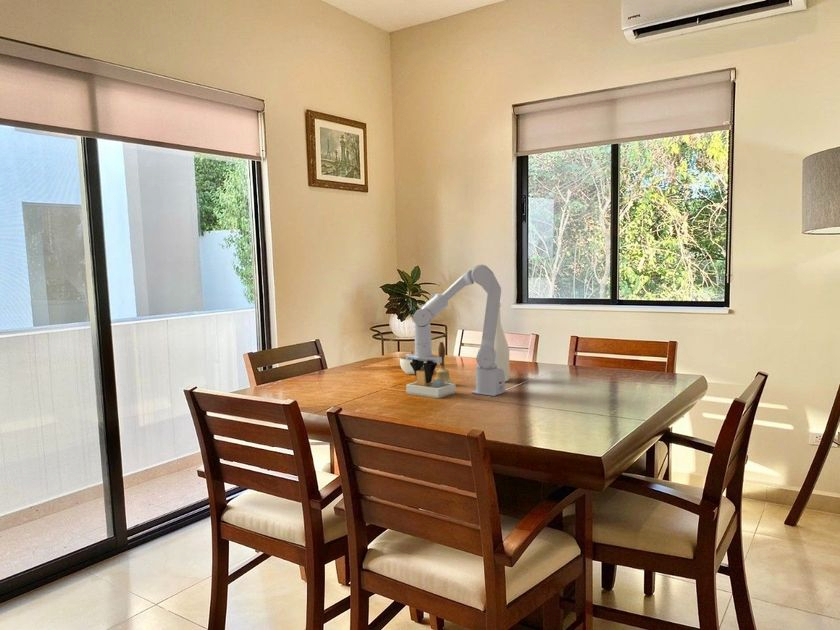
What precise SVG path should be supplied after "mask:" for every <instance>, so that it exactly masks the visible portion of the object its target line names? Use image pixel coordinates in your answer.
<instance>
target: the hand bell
mask: <svg viewBox="0 0 840 630" xmlns="http://www.w3.org/2000/svg"><path fill="white" fill-rule="evenodd" d="M437 353H438V357H442V363H439V368H438V369H437V370H436V371H435V373H436V374H435V378H434V380H436V379H442V380H444V382H445V383H453V384H455V383H454V381H452V379H451V377H450V373H449V370H448V369H447V368H445V355H446V347H445V344H444V342H443V341H439V345H438V347H437Z"/></svg>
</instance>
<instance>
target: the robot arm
mask: <svg viewBox="0 0 840 630" xmlns="http://www.w3.org/2000/svg"><path fill="white" fill-rule="evenodd" d="M499 283H500V282H499V281H498V279H497V277H496V275H495V273H494V272H493V271H492V270H491V269H490V268H489V266H487V265H486V264H477V265H475V266H474V267H473V268H472V269H470V270H468V271H467V272H465V273H464V274H462V275H461V276H459V278H458V279H457V280H456V281H454V282H453V283H452V284H451V285H449V286H448V288H447V289H446V290H445V291H443V292H442V293H435V294H432V295H431V296H430V299H429V300H428V301H427V302H425V303H424V304H421V305H420V309H417V310H416V311H415V312H414V314H413V316H412V317H413V318H412V320H413V322H414V352H415V354H407V355H406V360H412V362H410V365H411V366H412V368H413V370H414V372H415V374H414V375H415V378H416V380H417V377H416V371H418V370H421V367H423V366H424V369H425V374H426V383H429V382H431V381H432V380H433V376H434V372H435V369H436V368H437V366H438V364H440V363H442V357H439V355H437V356H436V355H433V354H432V330H431V321H432V319H433V318H436V317H437V316H438V315H439V314H440V313H441V312H442V311H444V310H445V309H446V308H447V307H448V306H449V300H450V299H452V298H453V297H454V296H455V295H456V294H457V293H459V292H460V291H461V290H462V289H464V288H465V287H466V286H470V285H474V284H477V285H479V286H480V287H481V288H482V289H483V290H484V291H485V292H486V293H487V297H486V304H485V313H484V319H483V327H482V336H481V342H480V348H479V349H478V351H477V355H476V357H475V359H476V363H477V364H476V365H475V381H476V382H475V384H476V386H475V390H471V394H478V395H483V396H486V395H487V396H494V397H495V396H498V395H501V394H504V393H506V392H507V390H506V382H505V374H504V371H503V370H502V369H499V368H497V365H496V364H495V363H494V362H495V356H496V354H495V351H494V342H495V334H496V327H497V319H498V311H499V304H500V303H501V295H502V287H501V285H500V284H499ZM423 359H424V360H423ZM424 361H425V363H424Z"/></svg>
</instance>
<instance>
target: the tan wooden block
mask: <svg viewBox="0 0 840 630" xmlns="http://www.w3.org/2000/svg"><path fill="white" fill-rule="evenodd" d="M416 377H417V379H416V382H417V385H421V386H427V385H431V382H429V383H426V374H425V369H424V367H421V370H418V371H416V375H415V378H416Z"/></svg>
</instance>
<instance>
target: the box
mask: <svg viewBox="0 0 840 630" xmlns="http://www.w3.org/2000/svg"><path fill="white" fill-rule="evenodd" d="M453 383H454V382H453ZM453 383H445V382H444V380H442V379H436V380H435V379H432V381H431V385H427V386H421V385H417V381H415V382H411V383H407V384H405V393H406V395H410V396H411V395H412V396H418V397H425V398H426V397H427V398H432V399H441V398H444V397H447V396H450V395H453V394H456V393H457V392H456V383H454V384H453Z"/></svg>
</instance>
